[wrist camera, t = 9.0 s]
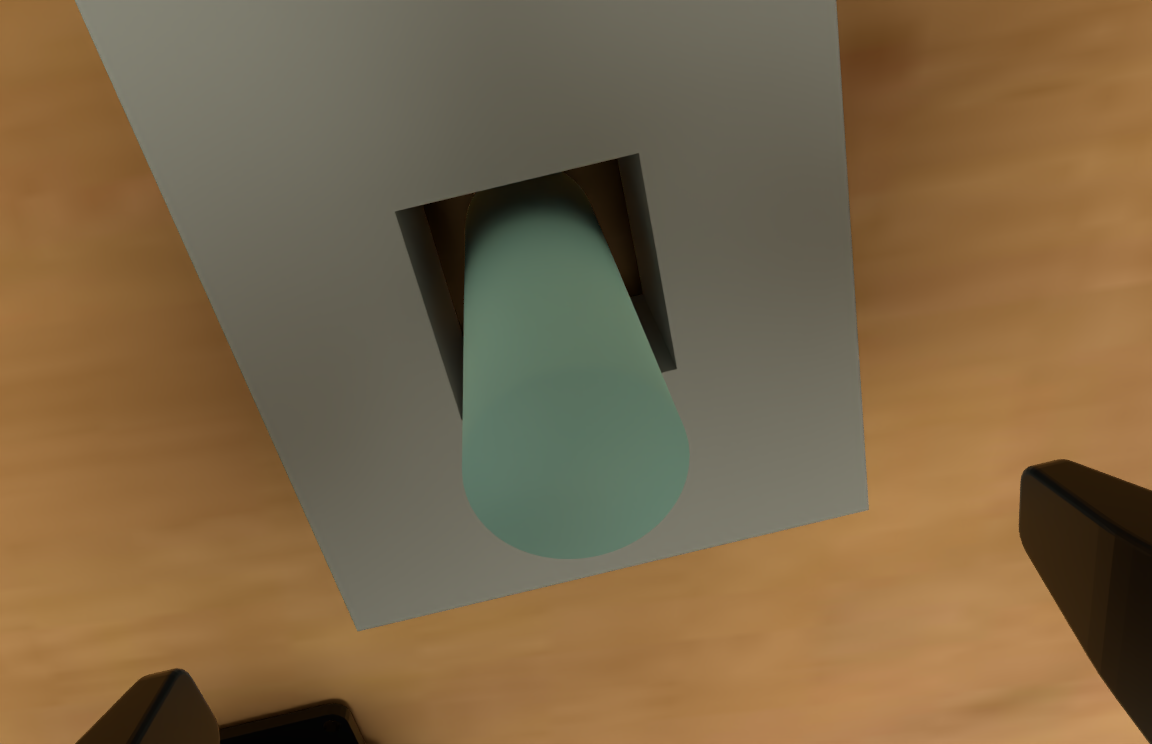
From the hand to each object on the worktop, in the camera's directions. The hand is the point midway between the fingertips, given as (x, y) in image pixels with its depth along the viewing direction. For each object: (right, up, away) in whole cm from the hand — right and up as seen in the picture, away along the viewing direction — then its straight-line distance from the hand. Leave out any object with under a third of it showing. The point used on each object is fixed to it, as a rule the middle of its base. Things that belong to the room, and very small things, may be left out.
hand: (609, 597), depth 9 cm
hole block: (-1, +6, +11) cm, 13 cm away
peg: (-1, +6, +11) cm, 13 cm away
